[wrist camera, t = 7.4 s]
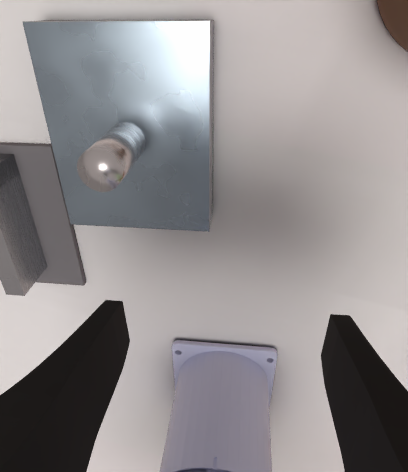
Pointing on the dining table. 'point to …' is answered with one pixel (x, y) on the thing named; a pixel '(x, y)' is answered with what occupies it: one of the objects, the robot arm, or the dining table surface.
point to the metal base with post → (129, 118)
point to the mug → (395, 19)
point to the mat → (48, 212)
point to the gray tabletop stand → (17, 233)
